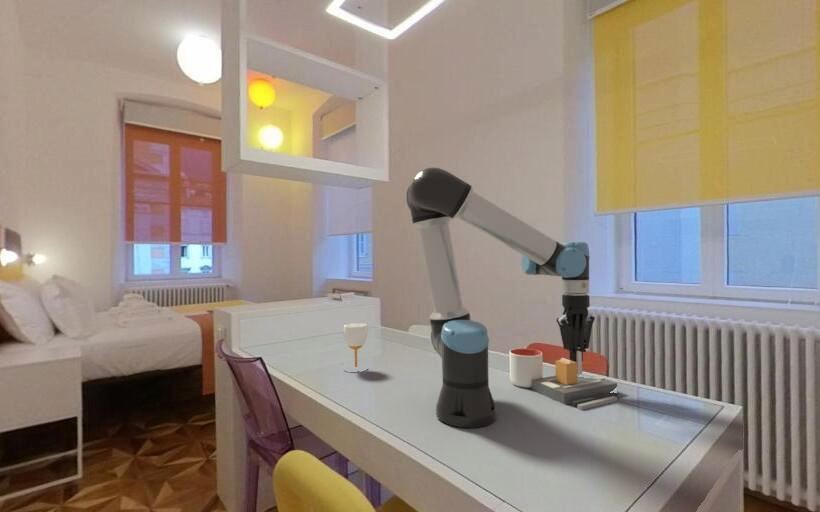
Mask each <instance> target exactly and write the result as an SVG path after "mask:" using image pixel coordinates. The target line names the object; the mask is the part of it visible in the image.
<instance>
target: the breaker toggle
mask: <svg viewBox="0 0 820 512" xmlns="http://www.w3.org/2000/svg"><path fill="white" fill-rule="evenodd" d="M554 364H555V376H556V381H558V382H560V383H563V384H565V385H570V384H576V383H577V362H574V361H571V360H570V359H567V358H564V357H561V358H560V359H558V360H555V363H554Z"/></svg>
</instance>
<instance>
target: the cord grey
mask: <svg viewBox="0 0 820 512" xmlns="http://www.w3.org/2000/svg"><path fill="white" fill-rule="evenodd" d="M615 402H618V398H617V397H615V396H611V397H606V398H602V399H598V400H594V401H590V402H586V403H582V404H578V405H577V407H576V408H577V409H578V410H579V411H583V410H586V409H591V408H594V407H598V406H602V405H607V404H611V403H615Z"/></svg>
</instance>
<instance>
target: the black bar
mask: <svg viewBox="0 0 820 512" xmlns="http://www.w3.org/2000/svg"><path fill="white" fill-rule="evenodd" d="M611 396H615V397H617V399H619V393H618V392H617V393H614V392H613V393H608V394H603V395H598V396H593V397H588V398H583V399H578V400H573V401H571V403H570V406H571V407H573V408H577V405H578V404H582V403H586V402H590V401H594V400H598V399H602V398H606V397H611Z"/></svg>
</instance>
